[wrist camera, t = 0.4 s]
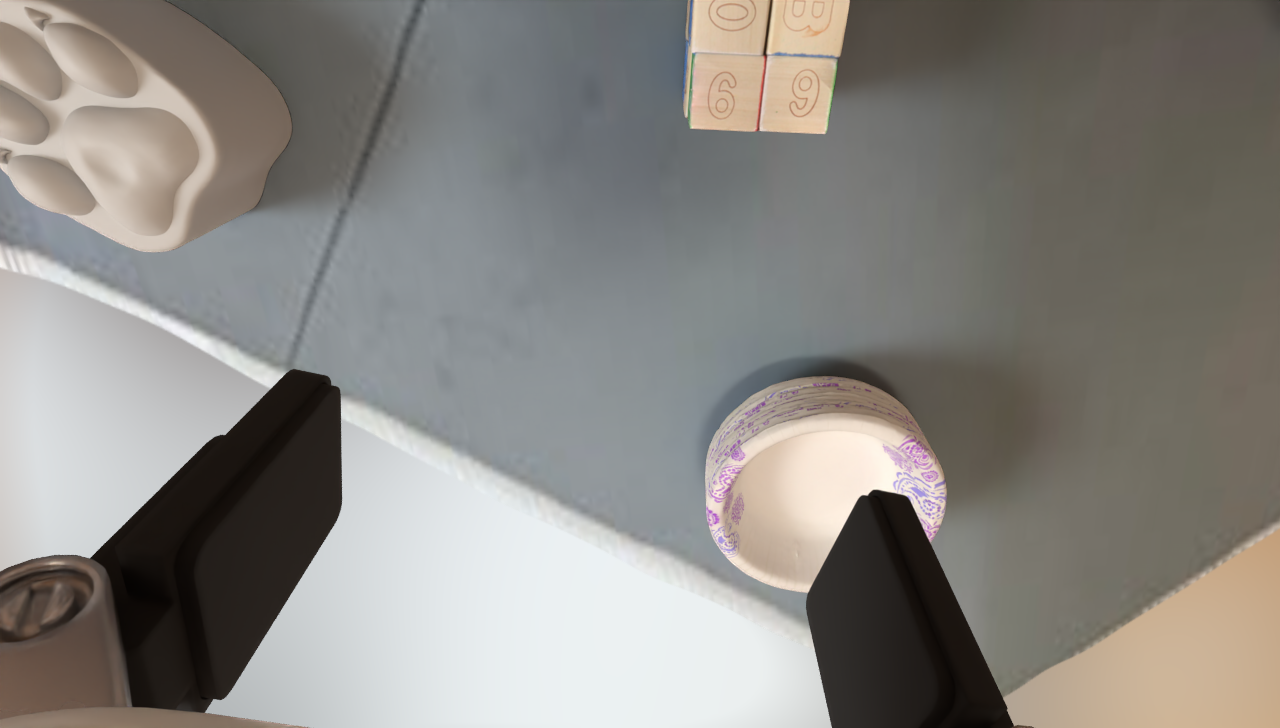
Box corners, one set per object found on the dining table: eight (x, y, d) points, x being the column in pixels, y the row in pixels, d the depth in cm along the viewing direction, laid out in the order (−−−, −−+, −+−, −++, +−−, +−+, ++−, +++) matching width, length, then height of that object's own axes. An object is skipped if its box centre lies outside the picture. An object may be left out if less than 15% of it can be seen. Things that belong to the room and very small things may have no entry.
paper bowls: (672, 391, 46) (672, 462, 39) (885, 322, 43) (926, 387, 36) (738, 536, 53) (748, 617, 46) (926, 487, 50) (967, 567, 43)
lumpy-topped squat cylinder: (242, 235, 41) (148, 289, 34) (29, 98, 38) (-129, 125, 30) (309, 101, 37) (218, 130, 30) (76, -69, 33) (-94, -85, 26)
